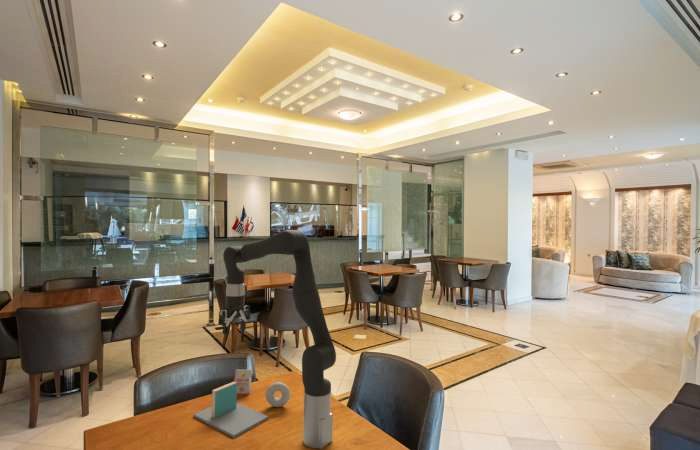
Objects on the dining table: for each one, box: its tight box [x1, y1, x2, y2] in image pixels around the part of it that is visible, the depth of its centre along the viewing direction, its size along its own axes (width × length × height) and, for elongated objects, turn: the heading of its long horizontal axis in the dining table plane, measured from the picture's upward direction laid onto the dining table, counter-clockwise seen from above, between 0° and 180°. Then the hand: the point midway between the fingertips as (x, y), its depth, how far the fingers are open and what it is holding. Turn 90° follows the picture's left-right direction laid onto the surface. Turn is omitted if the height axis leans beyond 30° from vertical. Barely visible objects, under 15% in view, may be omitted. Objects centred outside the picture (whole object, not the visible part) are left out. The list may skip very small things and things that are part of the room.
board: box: [193, 402, 269, 439], centre depth 140 cm, size 24×16×1 cm, turn 56°
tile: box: [211, 381, 238, 418], centre depth 143 cm, size 2×10×10 cm, turn 146°
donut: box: [265, 381, 291, 408], centre depth 150 cm, size 10×4×10 cm, turn 91°
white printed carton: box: [233, 369, 252, 395], centre depth 162 cm, size 4×7×10 cm, turn 92°
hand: (234, 332), depth 152 cm, fingers open, 8 cm apart
